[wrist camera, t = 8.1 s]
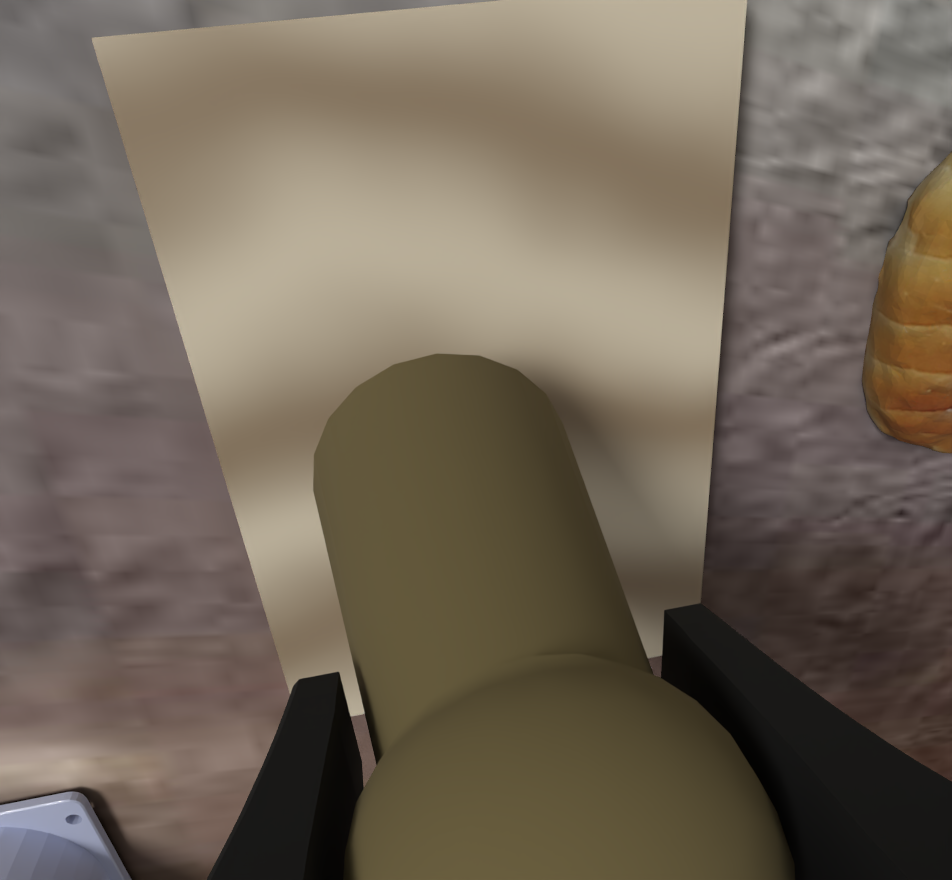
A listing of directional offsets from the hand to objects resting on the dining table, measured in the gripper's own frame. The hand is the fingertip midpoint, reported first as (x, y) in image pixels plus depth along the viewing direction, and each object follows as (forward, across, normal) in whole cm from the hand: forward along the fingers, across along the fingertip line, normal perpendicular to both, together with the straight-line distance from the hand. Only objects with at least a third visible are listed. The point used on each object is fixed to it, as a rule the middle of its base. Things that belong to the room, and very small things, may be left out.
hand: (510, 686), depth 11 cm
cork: (+6, 0, 0) cm, 6 cm away
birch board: (+10, -1, 0) cm, 10 cm away
